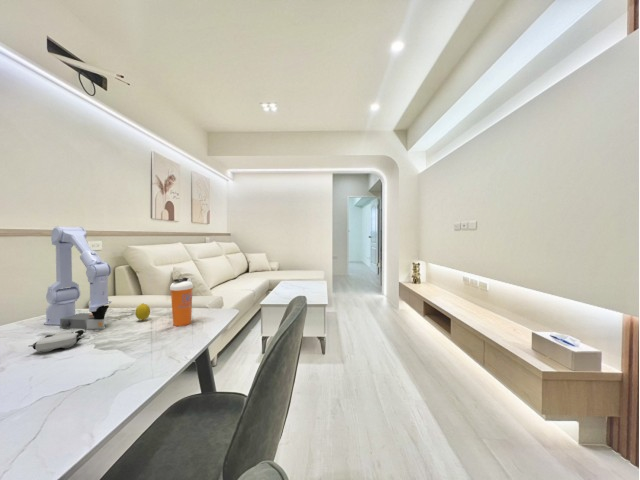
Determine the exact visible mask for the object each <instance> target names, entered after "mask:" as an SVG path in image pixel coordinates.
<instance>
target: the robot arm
mask: <svg viewBox="0 0 640 480" xmlns="http://www.w3.org/2000/svg"><path fill="white" fill-rule="evenodd" d="M50 233H51V234H50V236H51V237H50V241H51V245H53V246H55V268H56V269H55V271H56V273H55V275H56V277H55V278H56V281H55V282H54V283H52V284H51V285H50V286H48V287H47V292H46V296H45V299H46V301H47V303H48V304H49V305H47V307H46V309H45V317H46V318H45V319H46V320H45V321H46V322H45V323H44V324H43V325H51V326H60V319H62V318H65V317H69V316H72V315H76V302H77V301H78V299H80V297H81V290H80V285H79V283H78V282H75V281H73V263H72V261H73V260H72V259H73V257H72V254H73V253H72V248H73V246H74V247H75V248H76V249H77V251H78V252H79V253H80V256H79V258H80V260H81V262H82V264H83V265H84V267H85V269H86V270H85V274H86V277H87V282H88V283H89V307H88V312H89V313H91V314H93V316H94V318H95V319H104V320H105V316H106V314H107V311H108V309H109V307H110V306H109V305H110V304H112V302H113V301H112V300H109V285H108V284H109V282H108V281H109V279H108V278H109V276H110V275H111V273H112V267H111V265H110V264H109V263H108V262H105V261H103V260H102V259H101V257H100V256H99V254H98V253H97V251H96V250H92V248H91V247H90V245H89V243H88V241H87V235H88V233H87V230H86V229H85V227H82V226H79V227H76V226H55V227H54V228H53V229H52V230H51V232H50ZM108 304H109V305H108Z"/></svg>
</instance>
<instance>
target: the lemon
mask: <svg viewBox="0 0 640 480" xmlns="http://www.w3.org/2000/svg"><path fill="white" fill-rule="evenodd" d="M150 308H151V307H150V306H149V305H148V304H145V303H140V304H139V305H138V306H136V309H135V317H136V318H137V319H138V320H141V321H142V322H143V321H145V320H146V319H148V317H150V315H151V309H150Z"/></svg>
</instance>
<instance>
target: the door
mask: <svg viewBox="0 0 640 480" xmlns="http://www.w3.org/2000/svg"><path fill="white" fill-rule="evenodd" d="M104 329H105V318H104V319H86V320H85V329H84V330H104Z"/></svg>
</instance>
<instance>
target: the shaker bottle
mask: <svg viewBox="0 0 640 480" xmlns="http://www.w3.org/2000/svg"><path fill="white" fill-rule="evenodd" d="M172 281H173V282H172V283H171V284H170V286H169V290H170V299H171V311H172V313H171V314H172V323H173V326H174V327H182V326H183V327H184V326H187V325H189V324H191V323H192V315H193V314H192V312H193V311H192V310H193V309H192V308H193V289H194V283H193V282H192V278H190V277H182V278H174V279H172Z"/></svg>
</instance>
